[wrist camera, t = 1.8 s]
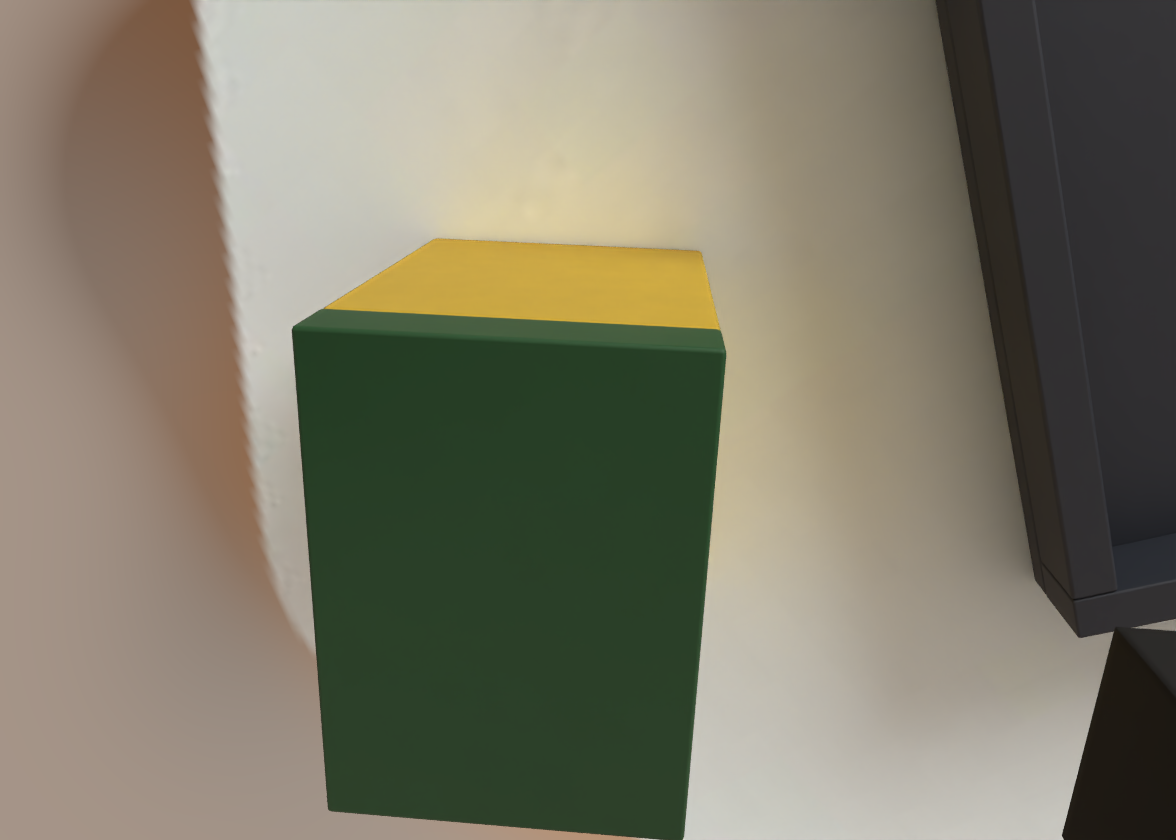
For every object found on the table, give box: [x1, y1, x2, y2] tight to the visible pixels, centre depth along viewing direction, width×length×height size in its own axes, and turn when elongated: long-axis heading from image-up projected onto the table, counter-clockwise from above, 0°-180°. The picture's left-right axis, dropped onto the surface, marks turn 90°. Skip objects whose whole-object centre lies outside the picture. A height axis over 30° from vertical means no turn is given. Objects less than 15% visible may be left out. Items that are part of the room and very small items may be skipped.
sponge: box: [292, 239, 726, 840], centre depth 15 cm, size 7×5×7 cm
